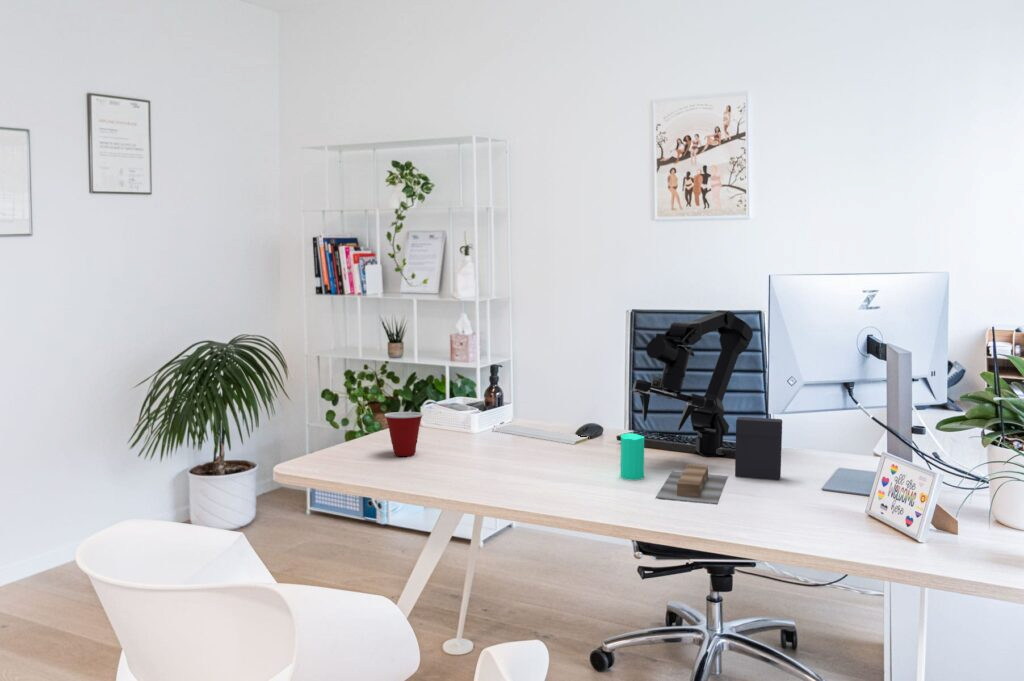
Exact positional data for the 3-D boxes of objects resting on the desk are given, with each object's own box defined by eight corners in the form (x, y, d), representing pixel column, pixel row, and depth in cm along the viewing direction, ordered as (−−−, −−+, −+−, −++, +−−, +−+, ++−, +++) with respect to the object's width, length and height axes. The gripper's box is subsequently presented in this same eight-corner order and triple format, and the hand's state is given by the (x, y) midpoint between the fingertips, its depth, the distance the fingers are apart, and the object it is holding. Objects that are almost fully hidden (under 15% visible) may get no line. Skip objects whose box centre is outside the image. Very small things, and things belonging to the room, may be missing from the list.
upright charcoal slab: (780, 476, 221) (782, 418, 219) (780, 481, 217) (781, 421, 215) (736, 473, 225) (737, 415, 223) (734, 477, 221) (736, 419, 219)
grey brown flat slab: (671, 472, 226) (672, 459, 225) (727, 477, 221) (727, 464, 221) (655, 498, 203) (655, 484, 203) (717, 504, 199) (717, 490, 198)
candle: (618, 473, 225) (618, 428, 223) (641, 473, 225) (641, 427, 224) (623, 480, 219) (623, 433, 217) (646, 479, 219) (647, 432, 218)
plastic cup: (425, 449, 252) (424, 408, 250) (422, 459, 241) (421, 416, 239) (387, 450, 251) (386, 409, 250) (383, 459, 240) (382, 416, 239)
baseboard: (570, 447, 255) (589, 441, 263) (570, 438, 255) (589, 432, 263) (490, 434, 274) (510, 428, 282) (490, 425, 273) (510, 420, 281)
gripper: (703, 380, 238) (689, 436, 236) (636, 362, 239) (622, 418, 237) (712, 376, 227) (698, 434, 225) (642, 358, 228) (628, 416, 226)
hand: (661, 425), depth 229 cm, fingers open, 9 cm apart
